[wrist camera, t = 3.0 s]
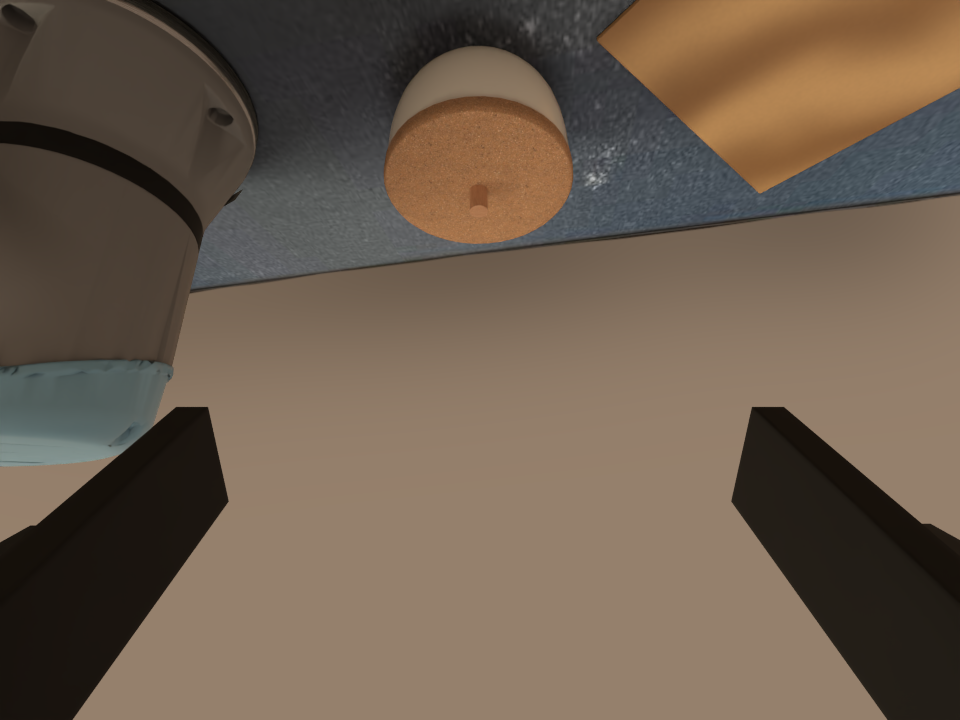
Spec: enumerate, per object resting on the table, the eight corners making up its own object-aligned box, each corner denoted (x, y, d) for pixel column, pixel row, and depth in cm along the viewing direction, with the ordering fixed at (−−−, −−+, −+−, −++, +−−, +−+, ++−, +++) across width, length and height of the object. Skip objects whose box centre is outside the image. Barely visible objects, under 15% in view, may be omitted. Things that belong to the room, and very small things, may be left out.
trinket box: (548, 158, 38) (556, 267, 34) (400, 154, 37) (392, 263, 34) (581, 9, 28) (597, 139, 24) (381, 1, 28) (367, 132, 24)
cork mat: (596, 37, 30) (596, 41, 29) (1131, -470, 15) (1135, -467, 15) (758, 190, 41) (759, 193, 41) (1148, -18, 27) (1151, -14, 27)
